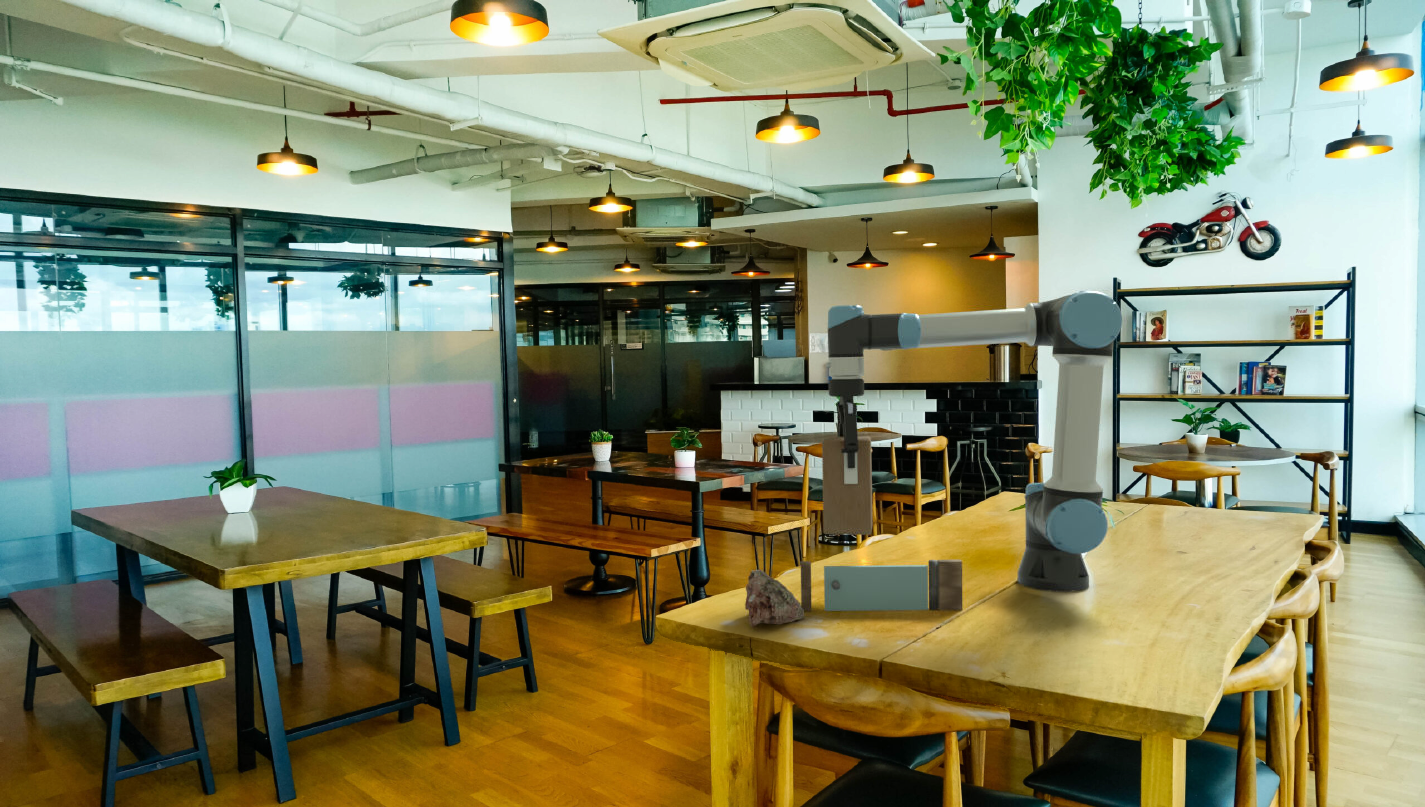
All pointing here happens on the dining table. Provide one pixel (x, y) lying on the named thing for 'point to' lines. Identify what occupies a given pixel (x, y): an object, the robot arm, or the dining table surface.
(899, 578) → the door
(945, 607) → the doorframe
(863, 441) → the wooden block
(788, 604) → the rock
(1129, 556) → the dining table surface
